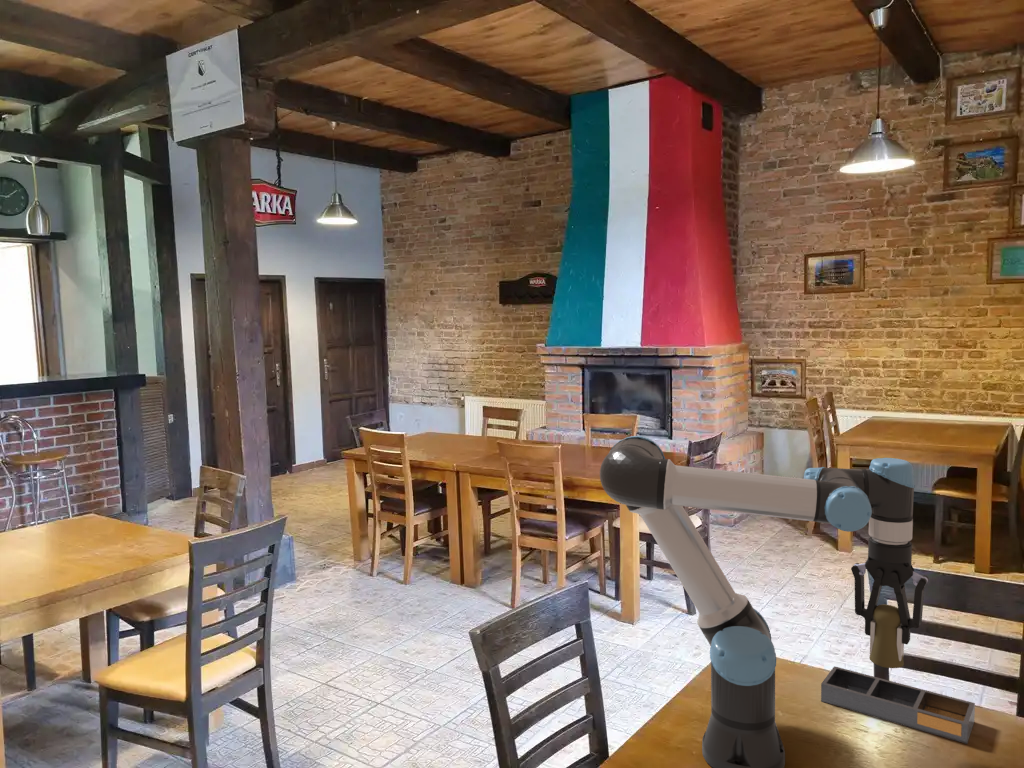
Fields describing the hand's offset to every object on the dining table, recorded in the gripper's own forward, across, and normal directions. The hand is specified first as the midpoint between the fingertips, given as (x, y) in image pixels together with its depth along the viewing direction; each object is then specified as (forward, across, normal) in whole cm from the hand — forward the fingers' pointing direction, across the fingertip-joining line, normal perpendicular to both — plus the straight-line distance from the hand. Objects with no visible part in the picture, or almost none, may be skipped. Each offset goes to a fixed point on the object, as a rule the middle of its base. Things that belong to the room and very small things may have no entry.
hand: (886, 654), depth 145 cm
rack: (+17, 0, -11) cm, 20 cm away
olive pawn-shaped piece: (+2, 0, 0) cm, 2 cm away
